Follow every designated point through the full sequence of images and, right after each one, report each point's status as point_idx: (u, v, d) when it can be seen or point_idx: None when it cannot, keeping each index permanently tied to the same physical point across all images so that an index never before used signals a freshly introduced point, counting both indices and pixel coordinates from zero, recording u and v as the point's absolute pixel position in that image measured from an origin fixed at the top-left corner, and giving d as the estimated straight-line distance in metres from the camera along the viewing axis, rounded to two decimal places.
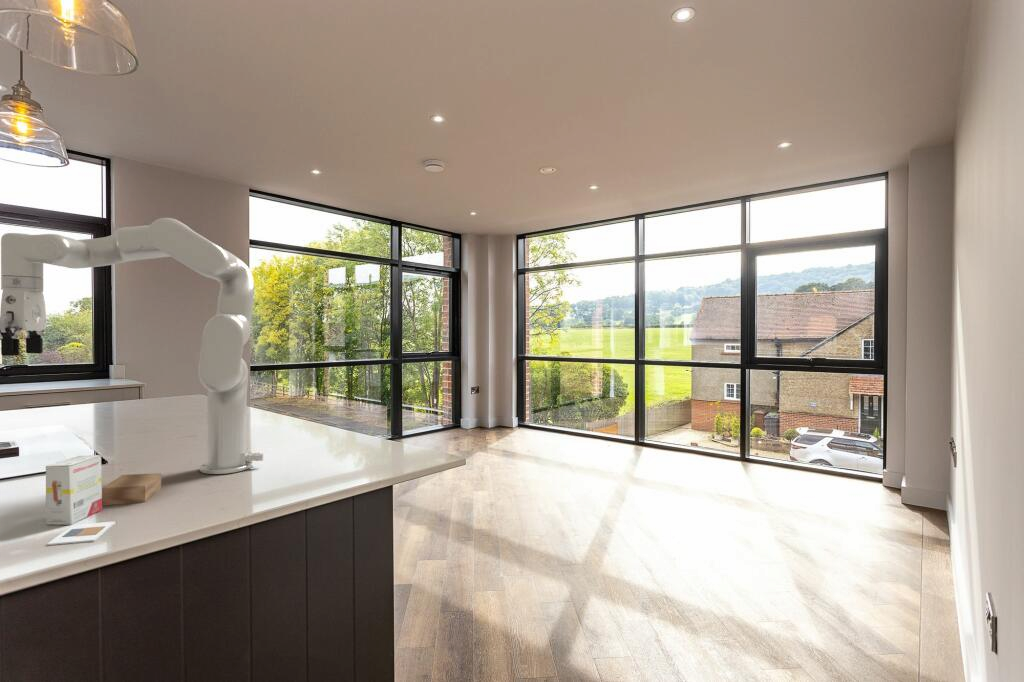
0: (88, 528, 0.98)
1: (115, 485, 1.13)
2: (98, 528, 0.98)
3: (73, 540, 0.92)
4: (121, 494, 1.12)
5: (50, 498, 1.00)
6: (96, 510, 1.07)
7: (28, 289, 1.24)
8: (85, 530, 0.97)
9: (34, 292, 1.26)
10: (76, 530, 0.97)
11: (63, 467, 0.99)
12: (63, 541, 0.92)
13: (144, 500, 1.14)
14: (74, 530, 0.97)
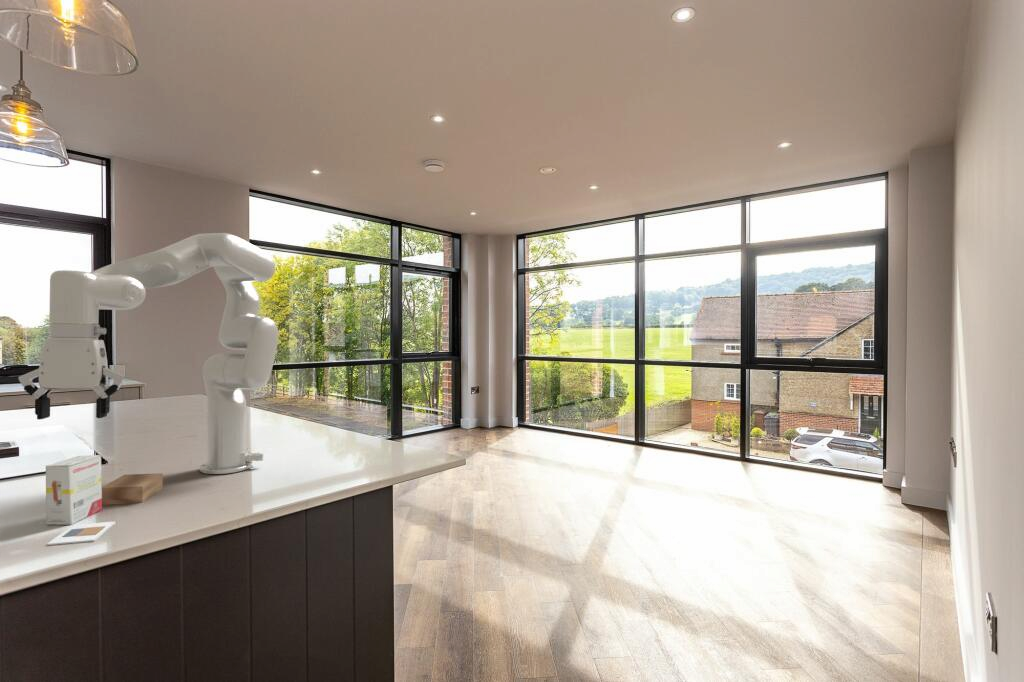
0: (88, 528, 0.98)
1: (114, 485, 1.13)
2: (98, 528, 0.98)
3: (73, 540, 0.92)
4: (119, 494, 1.12)
5: (50, 498, 1.00)
6: (96, 510, 1.07)
7: None
8: (85, 530, 0.97)
9: None
10: (76, 530, 0.97)
11: (63, 467, 0.99)
12: (63, 541, 0.92)
13: (141, 501, 1.13)
14: (74, 530, 0.97)
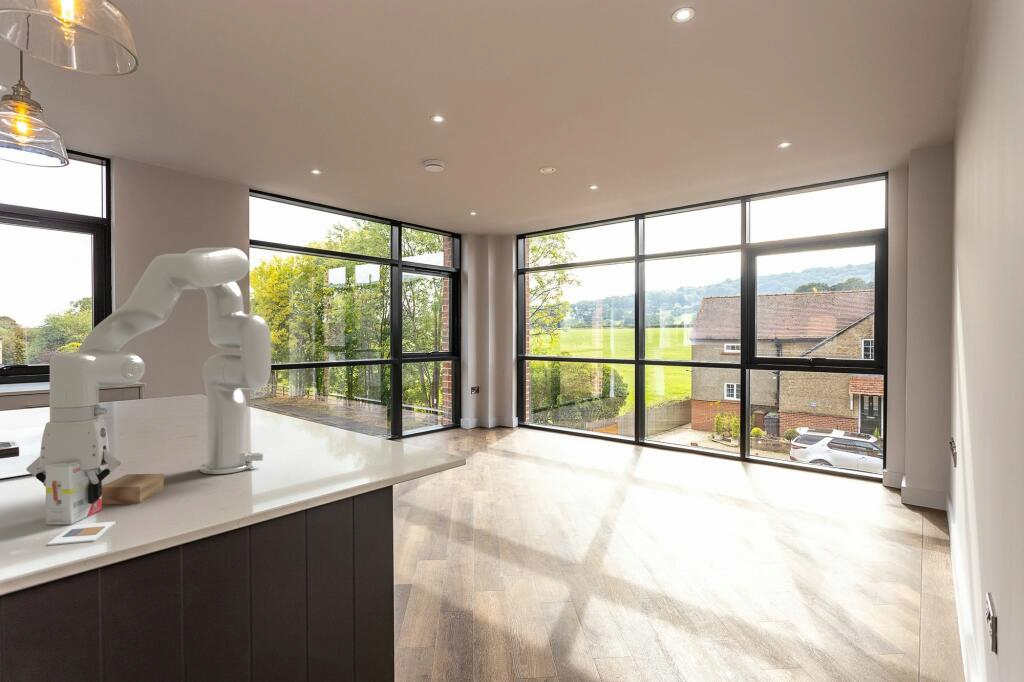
0: (88, 528, 0.98)
1: (113, 485, 1.13)
2: (98, 528, 0.98)
3: (73, 540, 0.92)
4: (117, 494, 1.12)
5: (50, 498, 1.00)
6: (96, 510, 1.07)
7: None
8: (85, 530, 0.97)
9: None
10: (76, 530, 0.97)
11: (63, 467, 0.99)
12: (63, 541, 0.92)
13: (139, 501, 1.13)
14: (74, 530, 0.97)
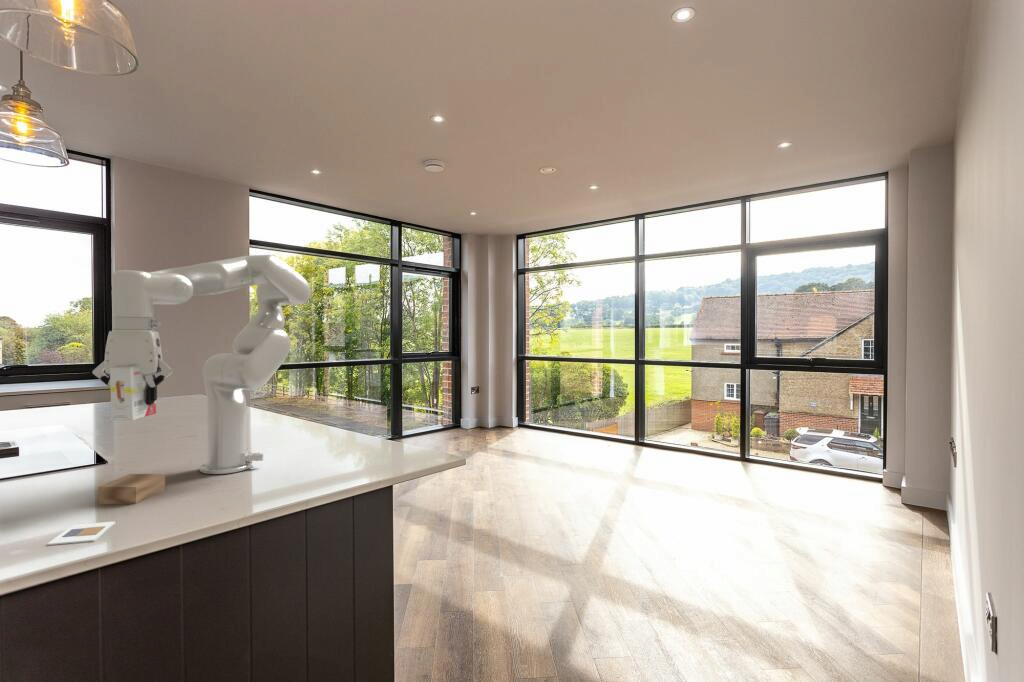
0: (88, 528, 0.98)
1: (112, 484, 1.14)
2: (98, 528, 0.98)
3: (73, 540, 0.92)
4: (115, 494, 1.12)
5: (114, 396, 1.12)
6: (151, 413, 1.20)
7: None
8: (85, 530, 0.97)
9: None
10: (76, 530, 0.97)
11: (125, 369, 1.12)
12: (63, 541, 0.92)
13: (135, 502, 1.12)
14: (74, 530, 0.97)
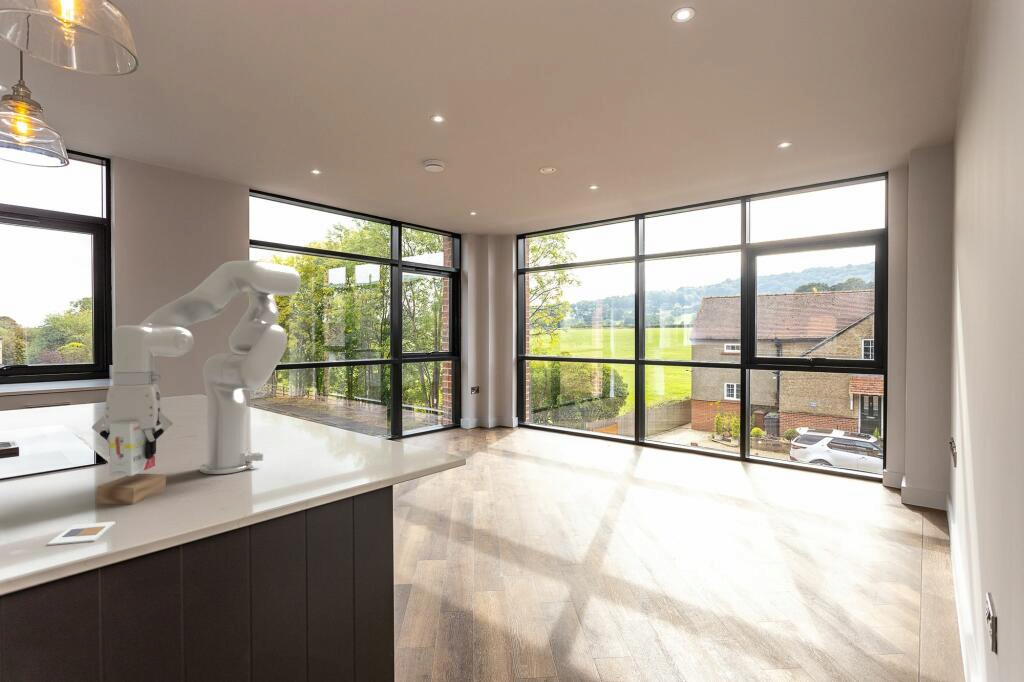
0: (88, 528, 0.98)
1: (111, 484, 1.14)
2: (98, 528, 0.98)
3: (73, 540, 0.92)
4: (113, 494, 1.12)
5: (114, 452, 1.13)
6: (150, 466, 1.20)
7: None
8: (85, 530, 0.97)
9: None
10: (76, 530, 0.97)
11: (125, 425, 1.13)
12: (63, 541, 0.92)
13: (132, 502, 1.12)
14: (74, 530, 0.97)
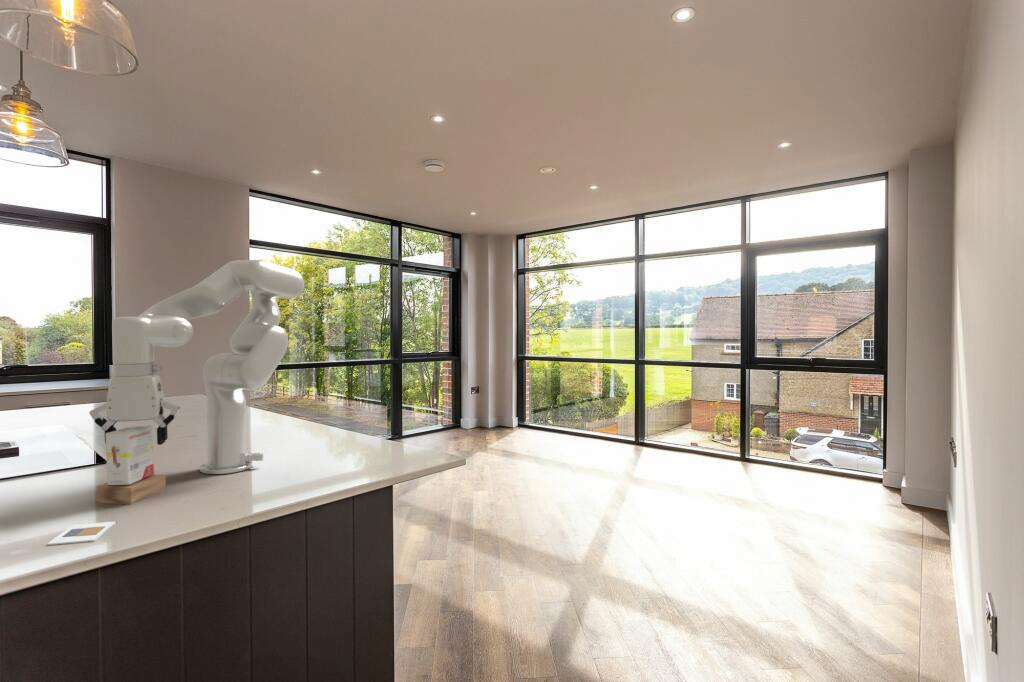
0: (88, 528, 0.98)
1: None
2: (98, 528, 0.98)
3: (73, 540, 0.92)
4: (112, 494, 1.12)
5: (110, 462, 1.13)
6: (149, 474, 1.20)
7: None
8: (85, 530, 0.97)
9: None
10: (76, 530, 0.97)
11: (120, 434, 1.13)
12: (63, 541, 0.92)
13: (130, 502, 1.12)
14: (74, 530, 0.97)
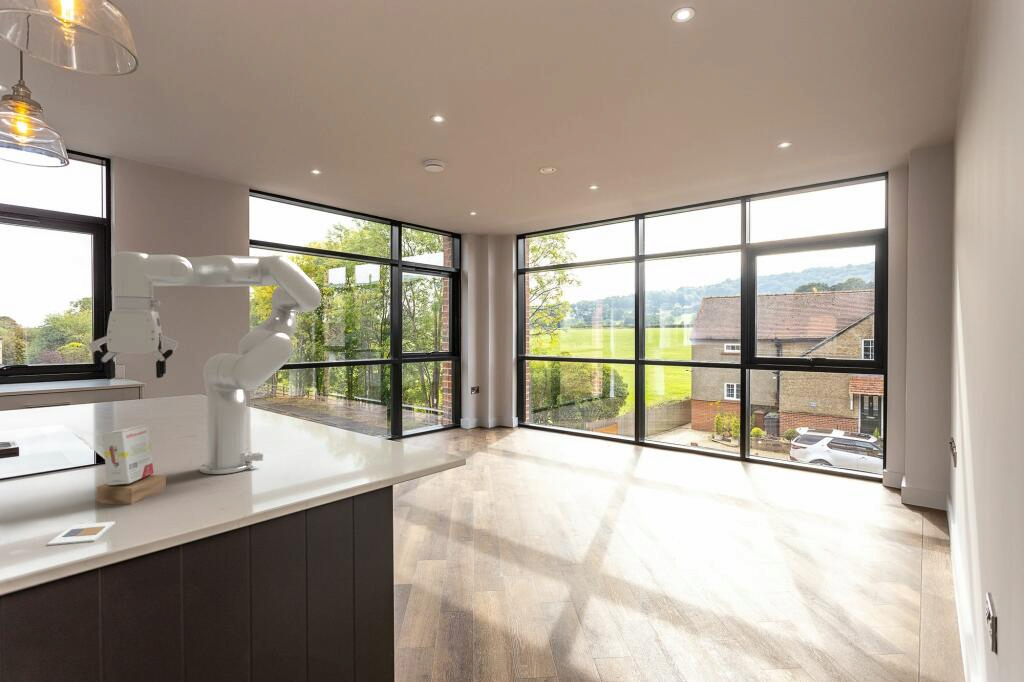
0: (88, 528, 0.98)
1: (110, 485, 1.14)
2: (98, 528, 0.98)
3: (73, 540, 0.92)
4: (112, 495, 1.12)
5: (109, 461, 1.13)
6: (149, 473, 1.20)
7: None
8: (85, 530, 0.97)
9: None
10: (76, 530, 0.97)
11: (117, 433, 1.13)
12: (63, 541, 0.92)
13: (131, 503, 1.12)
14: (74, 530, 0.97)
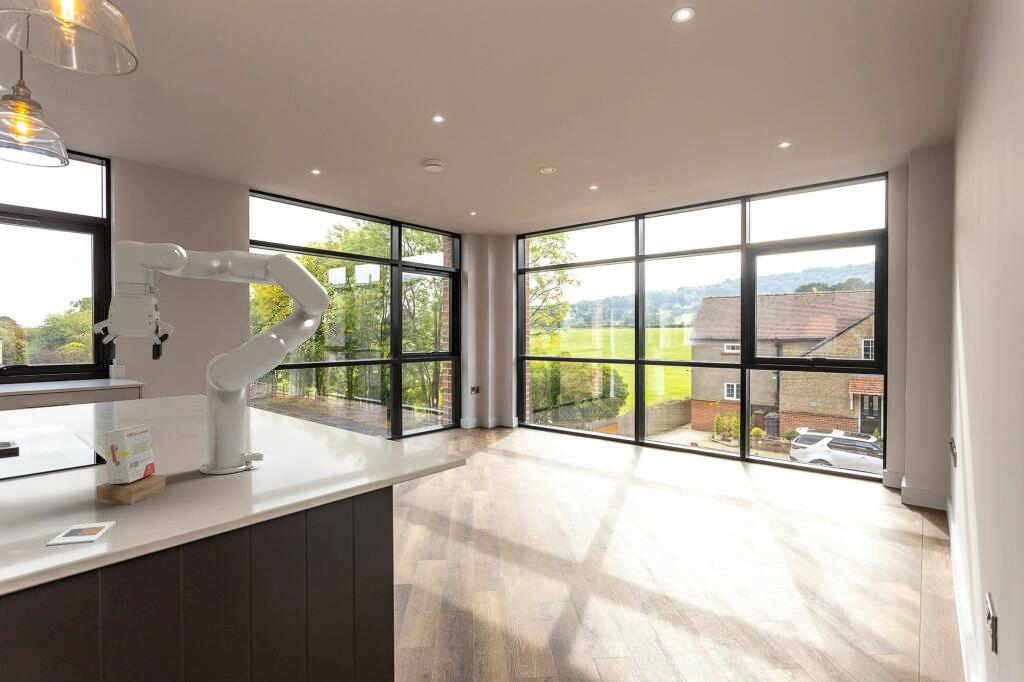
0: (88, 528, 0.98)
1: (110, 484, 1.14)
2: (98, 528, 0.98)
3: (73, 540, 0.92)
4: (111, 494, 1.12)
5: (110, 460, 1.13)
6: (150, 472, 1.20)
7: None
8: (85, 530, 0.97)
9: None
10: (76, 530, 0.97)
11: (118, 432, 1.13)
12: (63, 541, 0.92)
13: (130, 503, 1.12)
14: (74, 530, 0.97)
